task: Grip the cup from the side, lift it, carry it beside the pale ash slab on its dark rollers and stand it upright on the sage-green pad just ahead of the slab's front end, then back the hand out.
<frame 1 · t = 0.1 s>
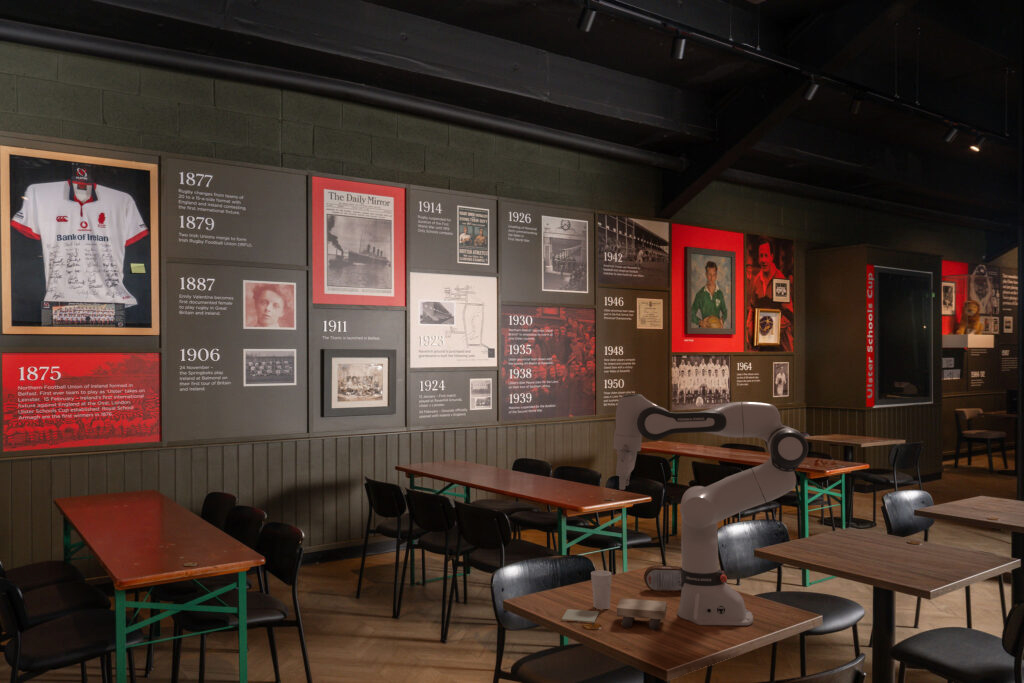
hand: (623, 487, 240), 39 cm above the table, tool pointing down, fingers open, 8 cm apart
pad: (580, 617, 231), on the table
cup: (601, 608, 241), on the table
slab: (642, 622, 225), on the table
tin: (666, 591, 259), on the table
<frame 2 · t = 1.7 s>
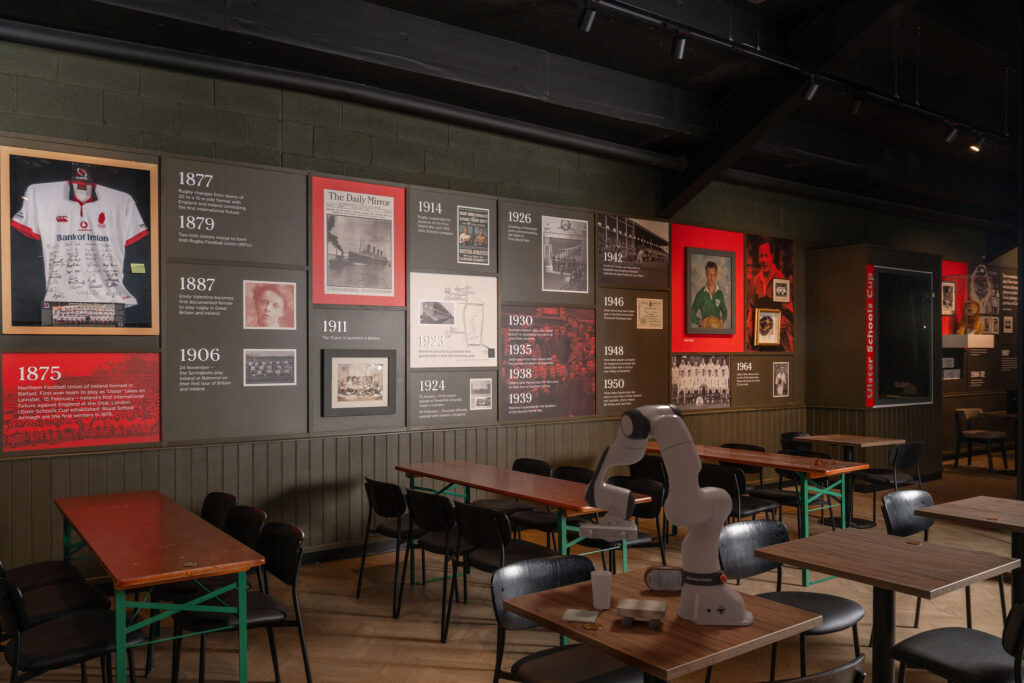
hand: (605, 536, 253), 20 cm above the table, tool horizontal, fingers open, 8 cm apart
nothing on the table moved.
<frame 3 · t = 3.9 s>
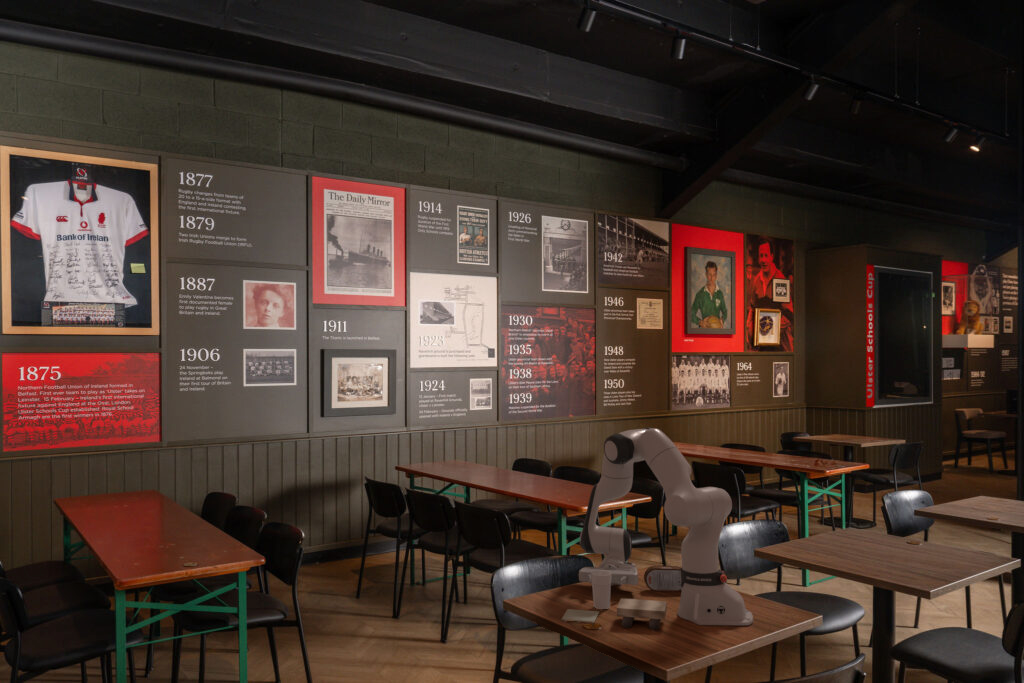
hand: (605, 581, 249), 6 cm above the table, tool horizontal, fingers open, 8 cm apart
nothing on the table moved.
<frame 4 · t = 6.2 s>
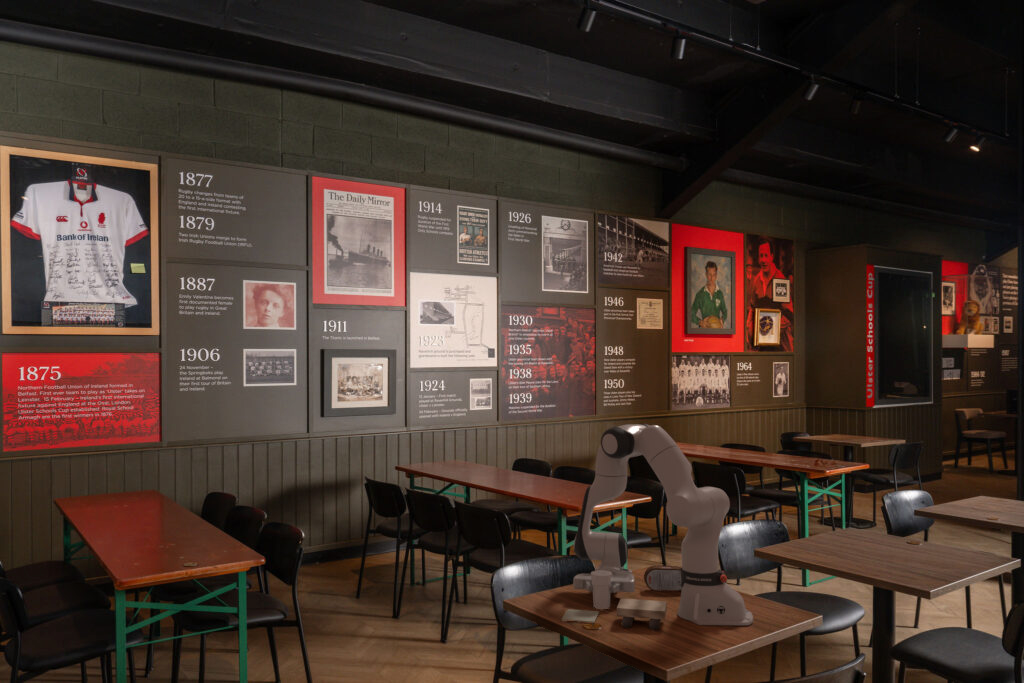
hand: (601, 589, 240), 6 cm above the table, tool horizontal, fingers closed on cup, 6 cm apart
cup: (601, 608, 241), on the table, touching gripper
everything else where it was.
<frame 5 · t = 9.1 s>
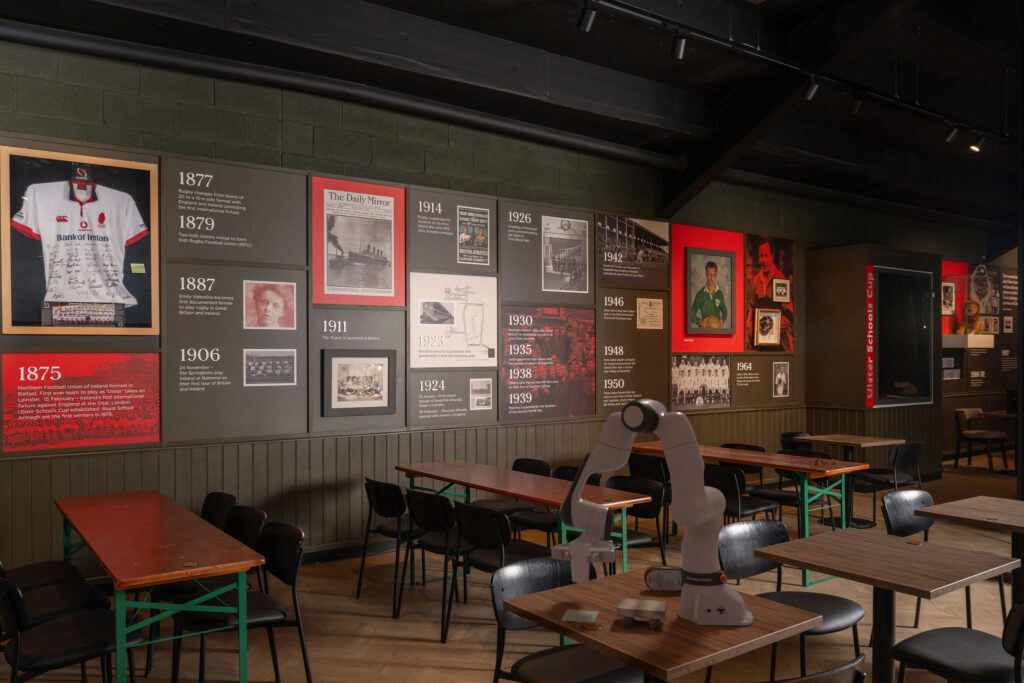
hand: (579, 559, 232), 18 cm above the table, tool horizontal, fingers closed on cup, 6 cm apart
cup: (580, 581, 232), point 11 cm above the table, touching gripper
everything else where it was.
when the fingers open (8 cm above the table, at t = 12.1 s): cup stays where it is, resting on pad.
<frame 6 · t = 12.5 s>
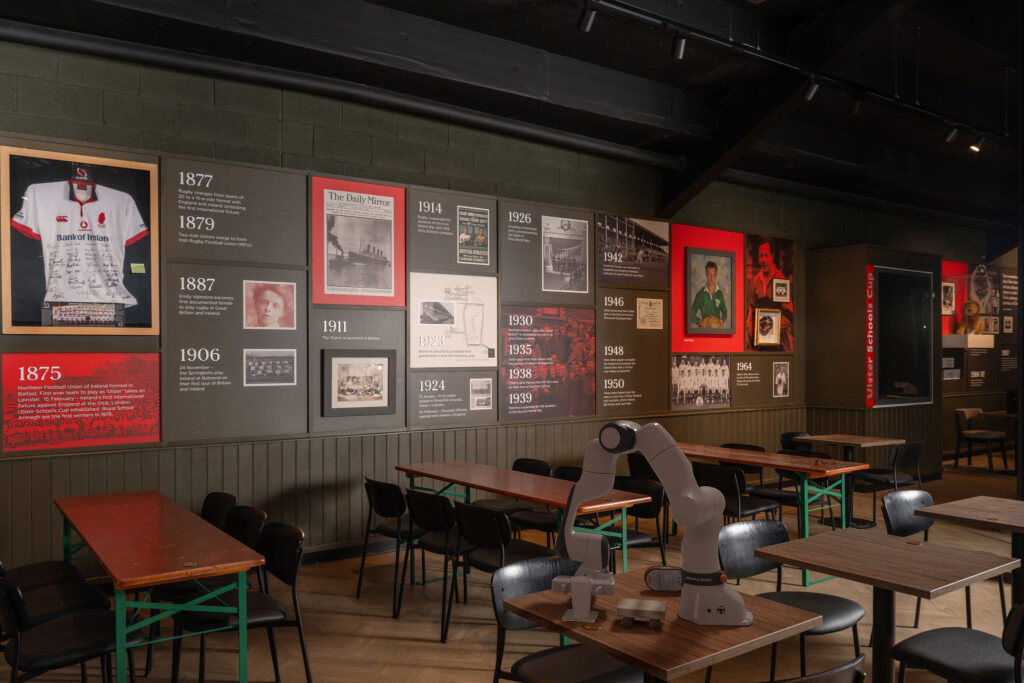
hand: (579, 592, 231), 8 cm above the table, tool horizontal, fingers open, 8 cm apart
cup: (581, 615, 231), resting on pad
everything else where it was.
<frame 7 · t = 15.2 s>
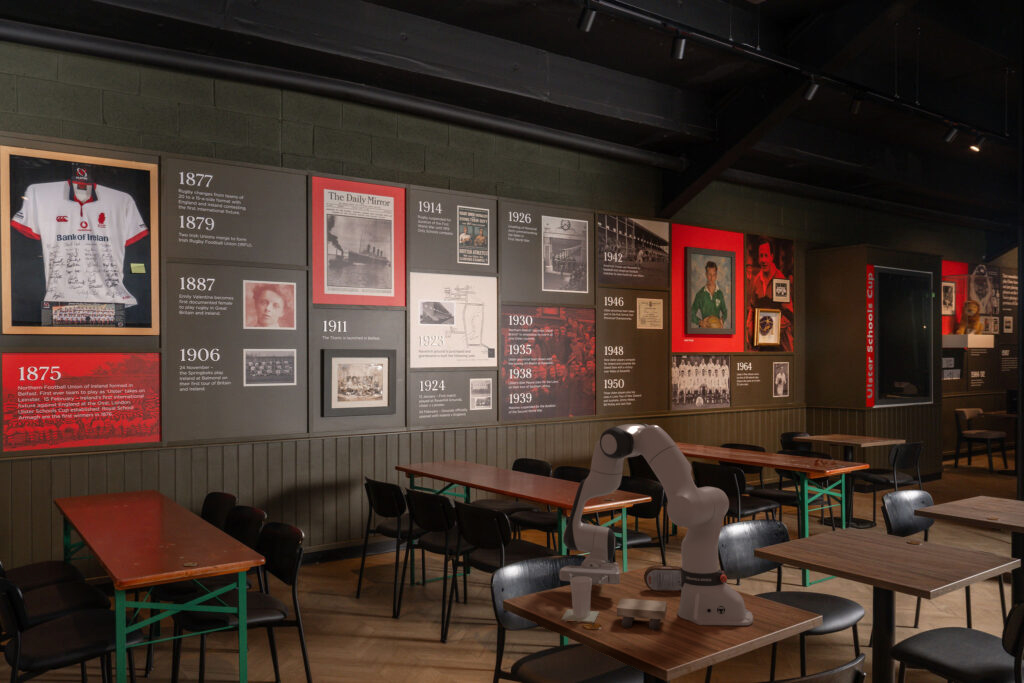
hand: (586, 581, 243), 8 cm above the table, tool horizontal, fingers open, 8 cm apart
nothing on the table moved.
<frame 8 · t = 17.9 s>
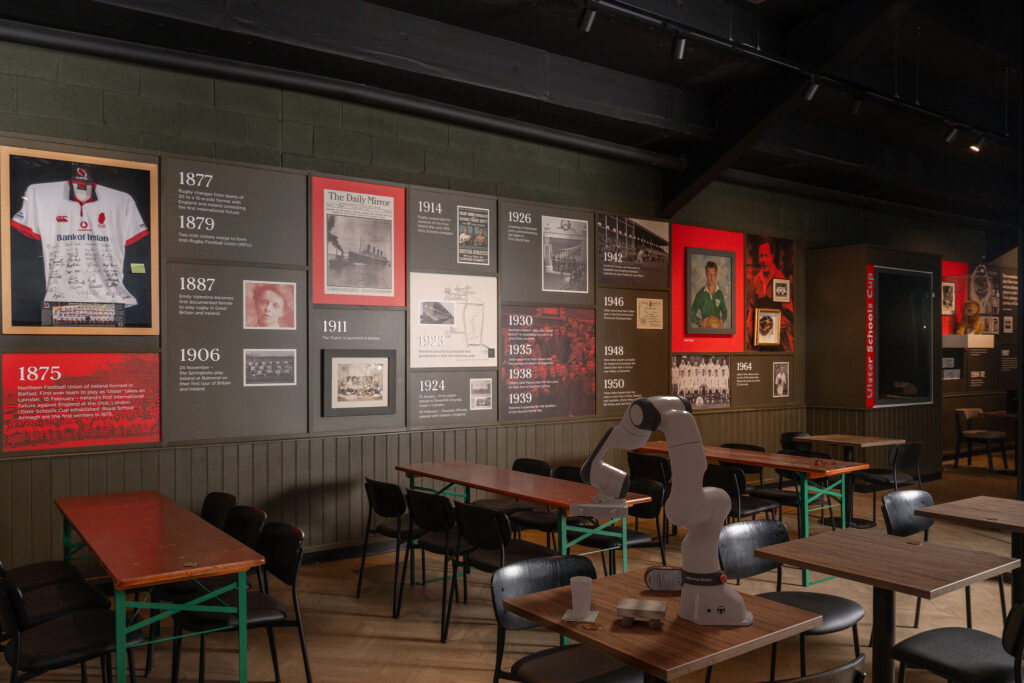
hand: (595, 513, 253), 28 cm above the table, tool horizontal, fingers open, 8 cm apart
nothing on the table moved.
at the end: cup 0.3 cm off-centre on the pad, point 0.4 cm above the pad's base; cup tilted 0°; the gripper is holding nothing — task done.
